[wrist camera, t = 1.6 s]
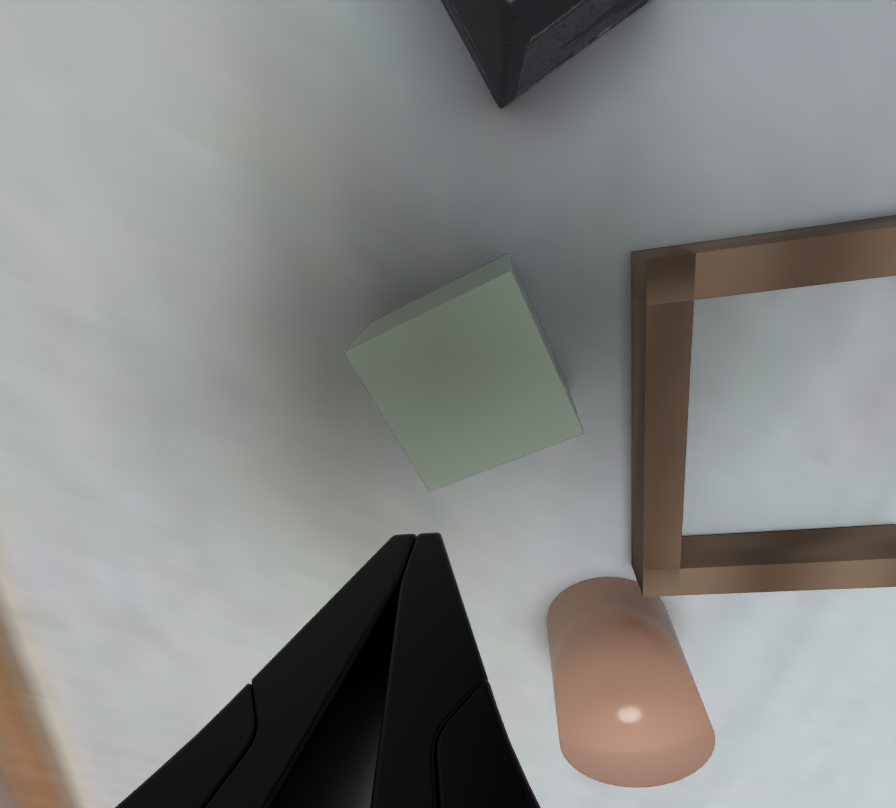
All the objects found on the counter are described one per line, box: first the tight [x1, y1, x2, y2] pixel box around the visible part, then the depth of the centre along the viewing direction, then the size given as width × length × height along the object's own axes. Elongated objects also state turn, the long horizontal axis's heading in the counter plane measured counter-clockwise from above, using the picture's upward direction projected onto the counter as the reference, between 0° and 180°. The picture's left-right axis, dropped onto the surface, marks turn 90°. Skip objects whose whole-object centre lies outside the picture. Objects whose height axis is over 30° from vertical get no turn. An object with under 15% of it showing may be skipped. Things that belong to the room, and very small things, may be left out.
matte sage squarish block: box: [344, 253, 584, 492], centre depth 18 cm, size 6×6×4 cm
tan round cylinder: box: [547, 577, 715, 787], centre depth 22 cm, size 6×6×6 cm
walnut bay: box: [632, 215, 896, 597], centre depth 19 cm, size 11×14×2 cm
